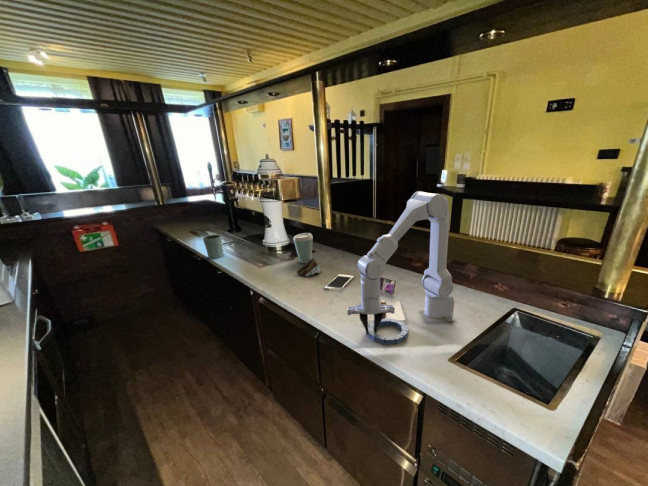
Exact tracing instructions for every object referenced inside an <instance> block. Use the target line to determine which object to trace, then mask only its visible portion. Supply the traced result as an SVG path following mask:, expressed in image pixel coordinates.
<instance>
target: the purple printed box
mask: <svg viewBox="0 0 648 486" xmlns="http://www.w3.org/2000/svg"><path fill="white" fill-rule="evenodd" d="M384 282H385V286H384ZM396 283H397V280H396V281H395V280H392V279H389V278H385V277H381V276H380V291H383V288H384V290H385V291H387V292H389V294H392V295H394V293H395V287H396ZM383 286H384V287H383Z"/></svg>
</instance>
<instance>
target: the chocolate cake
mask: <svg viewBox="0 0 648 486" xmlns="http://www.w3.org/2000/svg"><path fill="white" fill-rule="evenodd" d="M295 272H296V274H297V275H301V276H303V277H304V278H305V277H309V276H314V275H315V274H320V273H321V272H322V269H321V266H320V264H318V262H317V260H316V258H315V256H312V259H310V260H309V261H308V262H307V263H303V264H302V265H301V266H300V267H299V268H297V270H296V271H295Z"/></svg>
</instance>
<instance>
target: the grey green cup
mask: <svg viewBox="0 0 648 486" xmlns="http://www.w3.org/2000/svg"><path fill="white" fill-rule="evenodd" d="M202 240H203V244H204V246H205V250H206V253H207V257H208V258H209V259H218V258H222V257H223V256H224V249H223V240H222V235H221V234H208V235H205V236H203V237H202Z"/></svg>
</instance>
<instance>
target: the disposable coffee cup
mask: <svg viewBox="0 0 648 486" xmlns="http://www.w3.org/2000/svg"><path fill="white" fill-rule="evenodd" d="M313 238H314V237H313V234H312V233H311V232H303V233H298V234H296V235H294V237H293V243H294V247H295V250H296V254H297V257H298V261H299V262H300V263H301V264H305V263H307V262H308V261H309V260H310V259H312V258H313V240H314V239H313Z"/></svg>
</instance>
